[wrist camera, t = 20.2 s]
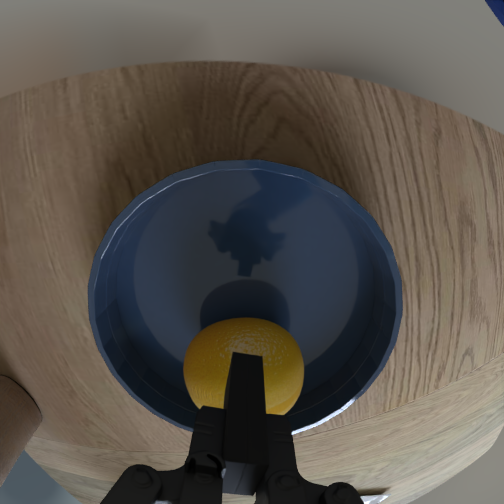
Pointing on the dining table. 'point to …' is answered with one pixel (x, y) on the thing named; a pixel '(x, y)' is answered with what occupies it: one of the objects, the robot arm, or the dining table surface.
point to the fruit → (249, 342)
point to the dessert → (374, 498)
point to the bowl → (245, 282)
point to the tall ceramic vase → (15, 423)
